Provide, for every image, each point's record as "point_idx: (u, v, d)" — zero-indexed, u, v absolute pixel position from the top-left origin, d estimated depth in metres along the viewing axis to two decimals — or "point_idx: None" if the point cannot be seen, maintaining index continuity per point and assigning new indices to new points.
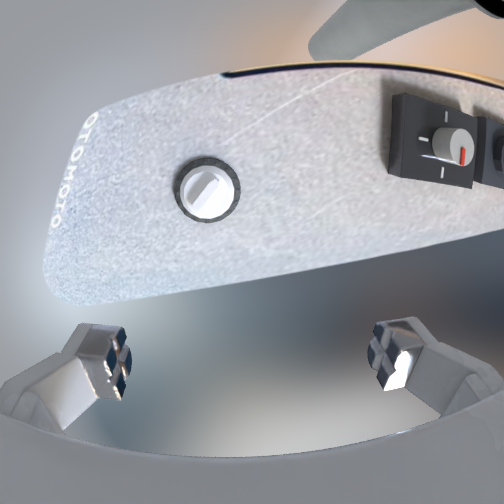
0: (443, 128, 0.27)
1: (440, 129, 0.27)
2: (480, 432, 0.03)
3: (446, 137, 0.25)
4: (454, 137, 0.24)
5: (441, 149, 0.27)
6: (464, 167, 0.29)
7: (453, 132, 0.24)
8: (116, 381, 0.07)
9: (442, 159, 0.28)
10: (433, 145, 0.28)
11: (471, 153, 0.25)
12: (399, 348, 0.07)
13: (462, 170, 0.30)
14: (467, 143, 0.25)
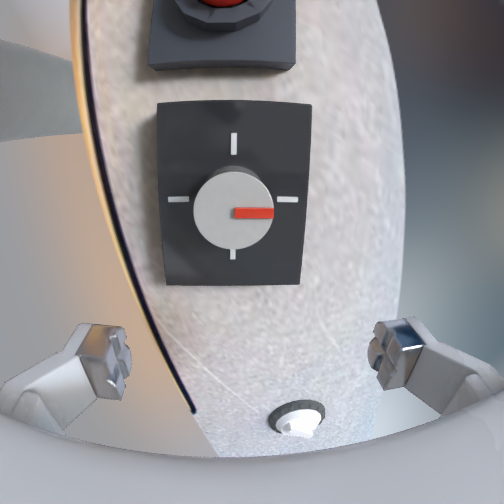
0: None
1: None
2: (480, 432, 0.03)
3: None
4: (217, 238, 0.16)
5: None
6: (270, 136, 0.18)
7: (207, 239, 0.17)
8: (116, 381, 0.07)
9: None
10: None
11: (241, 181, 0.15)
12: (400, 348, 0.07)
13: (276, 140, 0.18)
14: (221, 197, 0.16)
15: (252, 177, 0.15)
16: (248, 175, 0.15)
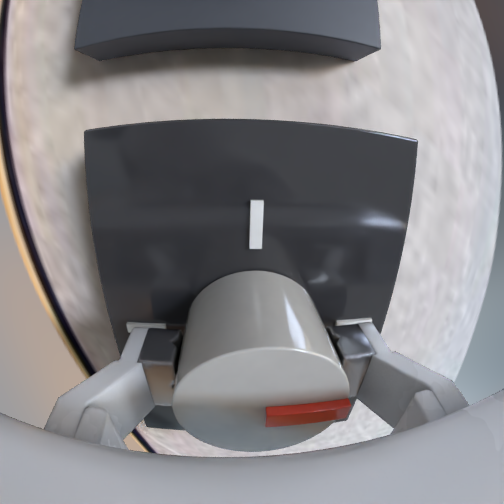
0: None
1: None
2: (480, 432, 0.03)
3: None
4: (227, 443, 0.07)
5: None
6: (336, 206, 0.08)
7: (208, 440, 0.07)
8: None
9: None
10: None
11: (286, 364, 0.06)
12: (343, 356, 0.07)
13: (348, 215, 0.08)
14: (236, 392, 0.06)
15: (314, 355, 0.06)
16: (305, 351, 0.06)
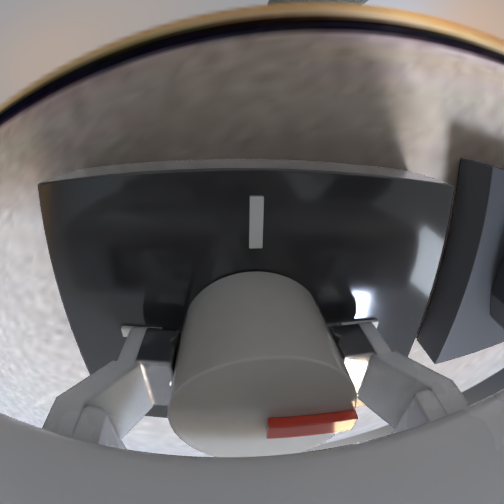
0: None
1: None
2: (480, 432, 0.03)
3: None
4: (225, 452, 0.06)
5: None
6: None
7: (204, 448, 0.07)
8: None
9: None
10: None
11: (293, 375, 0.05)
12: (344, 357, 0.07)
13: None
14: (237, 403, 0.05)
15: (324, 365, 0.05)
16: (314, 361, 0.05)
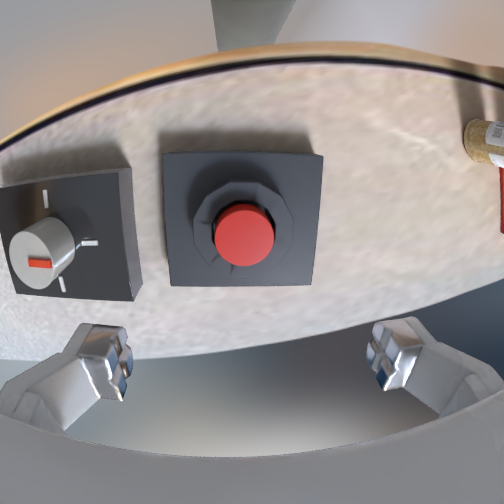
0: None
1: None
2: (480, 432, 0.03)
3: None
4: (26, 280, 0.16)
5: None
6: (101, 270, 0.20)
7: (22, 280, 0.17)
8: (117, 381, 0.07)
9: (68, 261, 0.19)
10: None
11: (29, 238, 0.15)
12: (399, 349, 0.07)
13: (99, 275, 0.21)
14: (21, 250, 0.16)
15: (34, 235, 0.15)
16: (32, 234, 0.15)
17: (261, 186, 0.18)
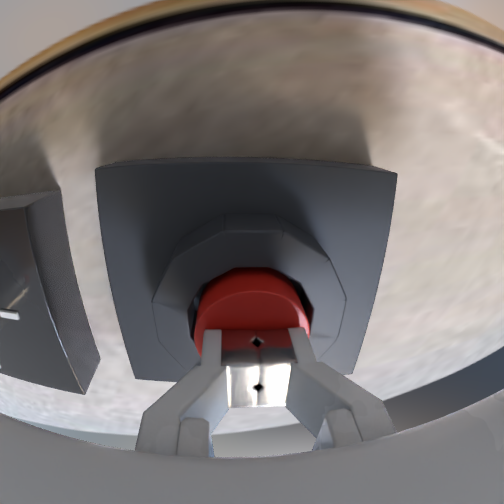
0: None
1: None
2: (480, 432, 0.03)
3: None
4: None
5: None
6: (33, 352, 0.11)
7: None
8: (257, 387, 0.07)
9: None
10: None
11: None
12: (259, 363, 0.07)
13: (33, 358, 0.11)
14: None
15: None
16: None
17: (290, 239, 0.09)
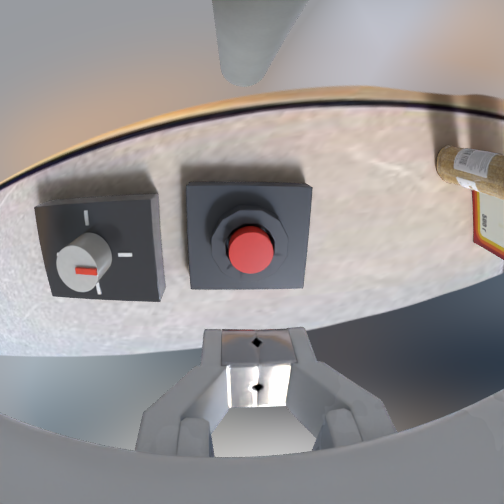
0: None
1: None
2: (480, 432, 0.03)
3: None
4: (71, 284, 0.22)
5: None
6: (134, 276, 0.26)
7: (67, 284, 0.22)
8: (257, 387, 0.07)
9: (107, 269, 0.25)
10: None
11: (77, 251, 0.21)
12: (259, 363, 0.07)
13: (132, 280, 0.26)
14: (68, 260, 0.21)
15: (82, 249, 0.21)
16: (80, 247, 0.21)
17: (264, 213, 0.24)
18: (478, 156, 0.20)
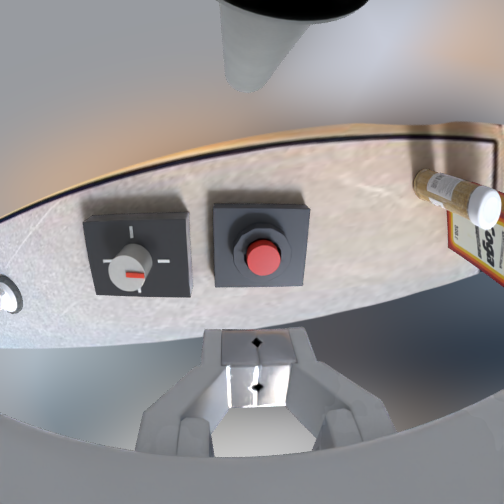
0: None
1: None
2: (480, 432, 0.03)
3: None
4: (120, 285, 0.30)
5: None
6: (170, 278, 0.34)
7: (116, 285, 0.30)
8: (256, 387, 0.07)
9: None
10: None
11: (128, 259, 0.29)
12: (259, 363, 0.07)
13: (168, 281, 0.34)
14: (120, 266, 0.29)
15: (132, 258, 0.29)
16: (131, 257, 0.29)
17: (273, 230, 0.32)
18: (446, 181, 0.28)
